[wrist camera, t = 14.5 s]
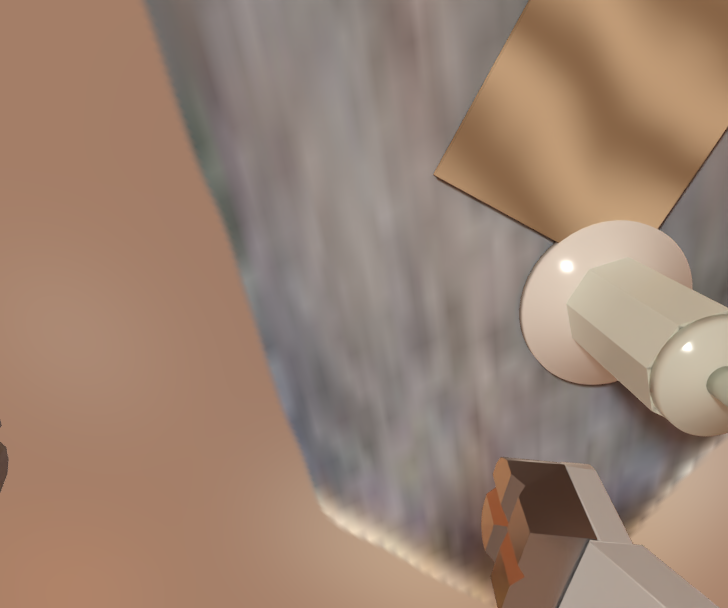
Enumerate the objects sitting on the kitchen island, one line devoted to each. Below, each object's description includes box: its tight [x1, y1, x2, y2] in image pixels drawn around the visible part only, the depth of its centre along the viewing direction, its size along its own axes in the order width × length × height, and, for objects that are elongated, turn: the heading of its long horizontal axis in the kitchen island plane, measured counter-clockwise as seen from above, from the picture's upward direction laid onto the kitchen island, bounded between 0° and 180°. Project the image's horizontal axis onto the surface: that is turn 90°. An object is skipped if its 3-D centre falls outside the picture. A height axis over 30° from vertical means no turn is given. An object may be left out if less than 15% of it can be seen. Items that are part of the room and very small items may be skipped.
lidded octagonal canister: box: [566, 257, 728, 436], centre depth 31 cm, size 6×6×11 cm
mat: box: [433, 0, 728, 243], centre depth 32 cm, size 16×14×1 cm
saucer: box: [519, 220, 692, 385], centre depth 36 cm, size 11×11×1 cm
